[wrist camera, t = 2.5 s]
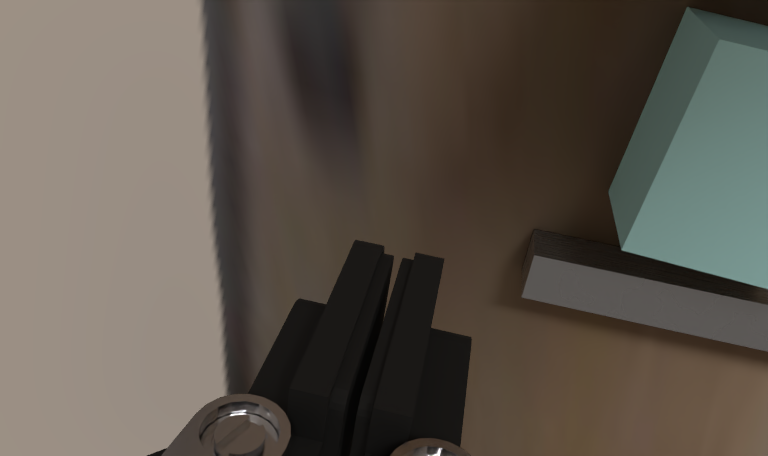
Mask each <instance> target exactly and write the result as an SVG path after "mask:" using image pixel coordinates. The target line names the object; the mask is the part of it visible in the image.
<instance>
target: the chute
mask: <svg viewBox="0 0 768 456" xmlns="http://www.w3.org/2000/svg"><path fill="white" fill-rule="evenodd" d="M522 298H527V299H531V300H536V301H540V302H545V303H549V304H554V305H558V306H563V307H567V308H572V309H577V310H581V311H586V312H590V313H595V314H599V315H604V316H608V317H613V318H617V319H622V320H626V321H631V322H636V323H640V324H645V325H649V326H654V327H658V328H663V329H667V330H672V331H676V332H681V333H686V334H690V335H695V336H699V337H704V338H708V339H713V340H717V341H722V342H726V343H731V344H736V345H740V346H745V347H749V348H754V349H758V350H763V351H767V352H768V289H765V288H762V287H758V286H754V285H750V284H747V283H743V282H739V281H735V280H732V279H728V278H724V277H720V276H717V275H713V274H709V273H705V272H702V271H698V270H694V269H690V268H686V267H683V266H679V265H675V264H671V263H668V262H664V261H660V260H656V259H653V258H649V257H645V256H641V255H638V254H634V253H630V252H626V251H623V250H621V247H618V246H613V245H608V244H603V243H598V242H594V241H589V240H584V239H579V238H575V237H570V236H565V235H560V234H556V233H551V232H546V231H541V230H536V229H534V231H533V234H532V237H531V241H530V244H529V247H528V251H527V254H526V258H525V261H524V264H523V268H522Z"/></svg>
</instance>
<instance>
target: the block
mask: <svg viewBox="0 0 768 456" xmlns="http://www.w3.org/2000/svg"><path fill="white" fill-rule="evenodd" d="M608 193H609V197H610V202H611V206H612V211H613V215H614V219H615V224H616V228H617V233H618V237H619V242H620V246H621V250H623V251H626V252H630V253H634V254H638V255H641V256H645V257H649V258H653V259H656V260H660V261H664V262H668V263H671V264H675V265H679V266H683V267H686V268H690V269H694V270H698V271H702V272H705V273H709V274H713V275H717V276H720V277H724V278H728V279H732V280H735V281H739V282H743V283H747V284H750V285H754V286H758V287H762V288H765V289H768V26H766V25H762V24H758V23H753V22H749V21H745V20H741V19H737V18H733V17H728V16H724V15H720V14H716V13H712V12H708V11H703V10H699V9H695V8H691V7H687V8H686V11H685V13H684V15H683V18H682V20H681V22H680V25H679V27H678V29H677V32H676V34H675V36H674V39H673V41H672V43H671V46H670V48H669V50H668V53H667V55H666V57H665V60H664V62H663V64H662V67H661V69H660V72H659V74H658V76H657V79H656V81H655V83H654V86H653V88H652V90H651V93H650V95H649V97H648V100H647V102H646V104H645V107H644V109H643V111H642V114H641V116H640V118H639V121H638V123H637V125H636V128H635V130H634V132H633V135H632V137H631V140H630V142H629V144H628V147H627V149H626V151H625V154H624V156H623V158H622V161H621V163H620V165H619V168H618V170H617V172H616V175H615V177H614V179H613V182H612V184H611V186H610V189H609V191H608Z"/></svg>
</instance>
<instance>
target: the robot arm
mask: <svg viewBox="0 0 768 456" xmlns="http://www.w3.org/2000/svg"><path fill="white" fill-rule="evenodd" d="M393 260H394V256H392V255H387V254H384V246H382V245H378V244H373V243H368V242H364V241H359V240H355V242H354V243H353V246H352V248H351V250H350V252H349V255H348V257H347V259H346V261H345V264H344V266H343V268H342V271H341V273H340V275H339V277H338V280H337V282H336V284H335V286H334V289H333V291H332V293H331V295H330V298H329V300H328V302H327V304H322V303H317V302H313V301H308V300H304V299H298V300H297V301H296V302H295V304H294V306H293V308H292V309H291V311H290V313H289V315H288V317H287V319H286V321H285V323H284V325H283V327H282V329H281V331H280V333H279V335H278V337H277V339H276V341H275V342H274V344H273V346H272V348H271V350H270V352H269V354H268V356H267V358H266V360H265V362H264V364H263V366H262V368H261V370H260V372H259V373H258V375H257V377H256V379H255V381H254V383H253V385H252V387H251V389H250V391H249V393H248V394H233V395H229V396H224V397H220V398H218V399H216V400H214V401H212V402H210V403H208V404H206V405H205V406H204V407H203V408H202V409H201V410H199V411H198V412H197V413H196V414H195V415H194V417H193V418H192V419H191V420H190V421H189V423H188V424H187V425H186V426H185V427H184V429H183V430H182V431H181V432H180V433H179V435H178V436H177V437H176V438H175V439H174V441H173V442H172V443H171V444H170V445H169V447H168V448H166V449H163V450H161V451H158V452H155V453H153V454H150V455H147V456H471V455H470V454H468V453H467V452H466V451H465V450H464V449H462V448H460V444H461V434H462V425H463V416H464V407H465V397H466V388H467V379H468V370H469V360H470V351H471V340H472V339H471V337H468V336H464V335H459V334H455V333H451V332H446V331H442V330H437V329H433V328H431V324H432V319H433V314H434V309H435V304H436V299H437V294H438V289H439V284H440V279H441V274H442V269H443V263H444V259H443V258H438V257H434V256H429V255H424V254H420V253H415V257H414V260H411V259H406V258H403V259H402V262H401V265H400V268H399V271H398V275H397V278H396V281H395V285H394V288H393V291H392V294H391V298H390V301H389V304H388V308H387V311H386V314H385V318H384V313H385V307H386V302H387V296H388V290H389V284H390V278H391V272H392V266H393ZM383 319H384V321H383Z"/></svg>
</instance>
